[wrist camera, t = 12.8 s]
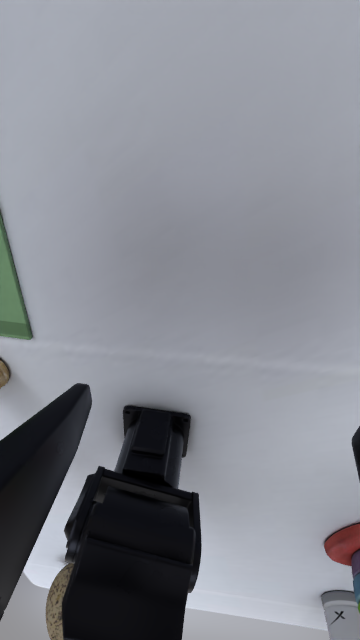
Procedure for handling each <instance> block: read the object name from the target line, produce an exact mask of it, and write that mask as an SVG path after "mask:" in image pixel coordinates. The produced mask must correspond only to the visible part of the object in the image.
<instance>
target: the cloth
mask: <svg viewBox="0 0 360 640" xmlns="http://www.w3.org/2000/svg"><path fill="white" fill-rule="evenodd" d="M0 336H4V337H12V338H19V339H27V340H31V339H32V333H31V329H30V325H29V321H28V317H27V314H26V310H25V306H24V302H23V298H22V294H21V290H20V286H19V283H18V279H17V275H16V271H15V267H14V263H13V259H12V256H11V252H10V248H9V244H8V240H7V236H6V232H5V229H4V225H3V221H2V217H1V213H0Z"/></svg>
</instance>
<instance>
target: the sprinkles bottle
mask: <svg viewBox="0 0 360 640" xmlns="http://www.w3.org/2000/svg"><path fill="white" fill-rule="evenodd" d="M8 380H9V371H8V369H7V367H6V366H5V365H4V363H3V362H2V361H1V360H0V388H1V387H3V386H5V385H6V383H7V382H8Z"/></svg>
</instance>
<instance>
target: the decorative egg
mask: <svg viewBox="0 0 360 640" xmlns="http://www.w3.org/2000/svg"><path fill="white" fill-rule="evenodd" d="M73 566H74V564H73V563H70V564H68V565H66V566H65V567H64V568H63V569H62V570H61V571H60V572H59V573H58V574H57V576H56V577H55V579H54V581H53V583H52V585H51V587H50V590H49V594H48V597H47V603H46V623H47V629H48V633H49V637H50V639H51V640H63V628H62V600H63V597H64V594H65V591H66V588H67V585H68V581H69V578H70V575H71V572H72V569H73Z"/></svg>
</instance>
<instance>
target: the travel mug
mask: <svg viewBox="0 0 360 640" xmlns="http://www.w3.org/2000/svg"><path fill="white" fill-rule="evenodd" d="M321 599H322V604H323V608H324V610H325V611H324V613H325V618H326V622H327V627H328V632H329V636H330V640H360V613H359V611H358V604H357V602H356V599H355V593H352V592H347V591H330V592H327V593H325V594H323V595H322V598H321Z"/></svg>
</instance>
